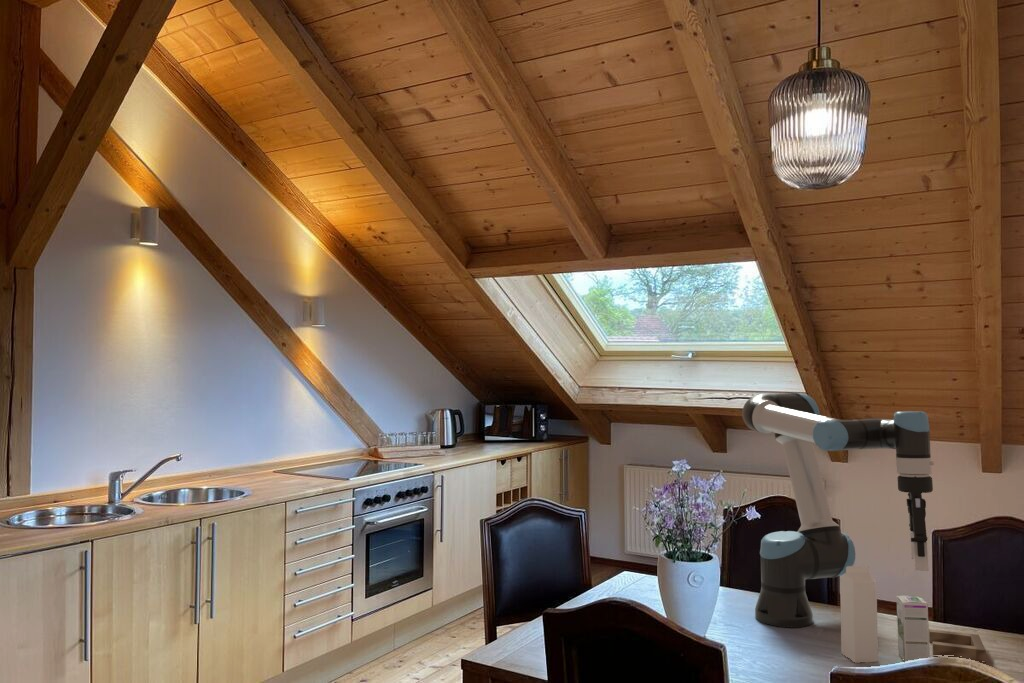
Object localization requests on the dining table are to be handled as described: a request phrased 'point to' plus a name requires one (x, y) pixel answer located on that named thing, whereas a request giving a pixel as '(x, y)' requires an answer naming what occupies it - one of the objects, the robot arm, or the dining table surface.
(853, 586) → the milk
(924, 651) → the syrup box
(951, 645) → the brown square tray
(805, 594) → the robot arm
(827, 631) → the dining table surface
